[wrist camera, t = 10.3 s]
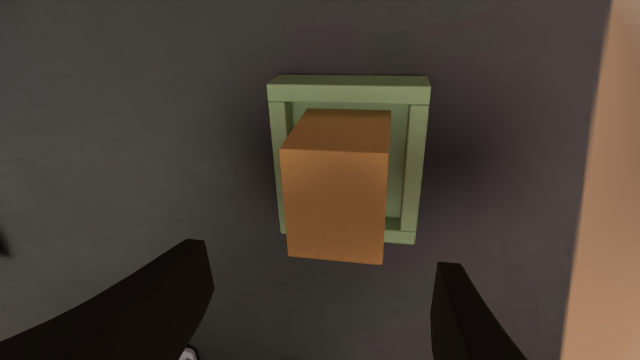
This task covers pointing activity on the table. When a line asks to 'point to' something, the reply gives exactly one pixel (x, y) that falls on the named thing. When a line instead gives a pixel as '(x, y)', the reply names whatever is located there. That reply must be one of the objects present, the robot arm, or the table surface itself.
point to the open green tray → (363, 94)
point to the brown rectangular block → (336, 184)
